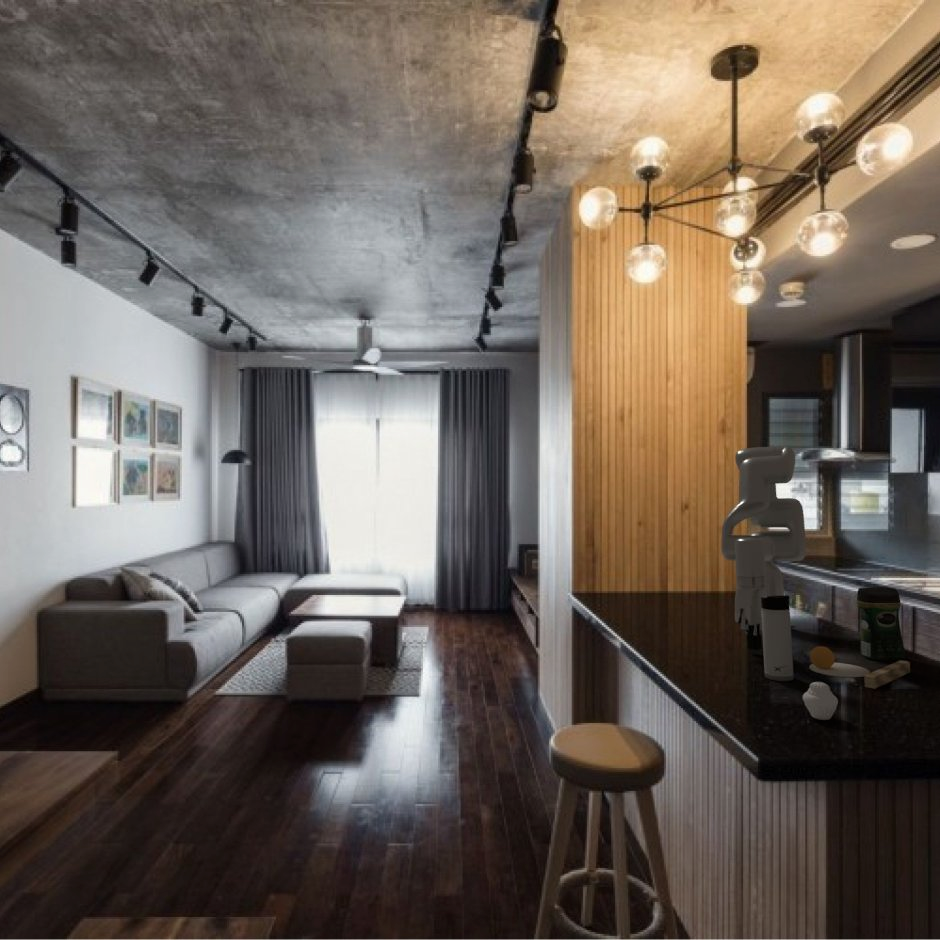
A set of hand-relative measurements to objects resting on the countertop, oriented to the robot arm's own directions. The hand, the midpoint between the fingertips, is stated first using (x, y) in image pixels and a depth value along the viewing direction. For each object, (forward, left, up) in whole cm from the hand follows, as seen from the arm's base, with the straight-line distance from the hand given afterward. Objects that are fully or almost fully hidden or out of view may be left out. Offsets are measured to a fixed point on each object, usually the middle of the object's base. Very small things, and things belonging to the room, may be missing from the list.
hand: (754, 648), depth 176 cm
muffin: (+37, +35, -2) cm, 51 cm away
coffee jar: (-20, +24, -2) cm, 31 cm away
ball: (+1, +19, +1) cm, 19 cm away
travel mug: (+17, +16, -2) cm, 23 cm away
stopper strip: (0, +33, -2) cm, 33 cm away
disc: (0, +22, -2) cm, 22 cm away
